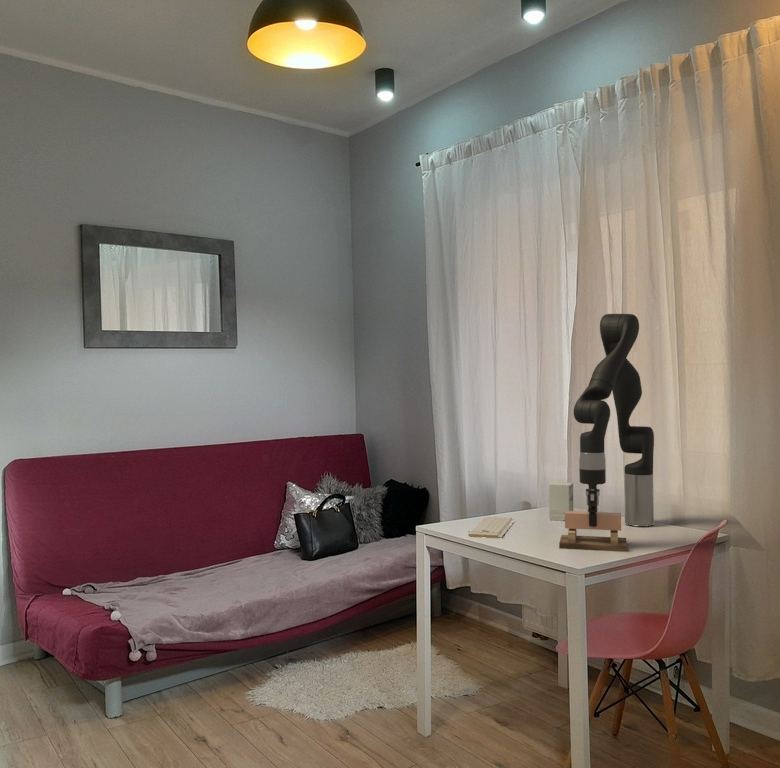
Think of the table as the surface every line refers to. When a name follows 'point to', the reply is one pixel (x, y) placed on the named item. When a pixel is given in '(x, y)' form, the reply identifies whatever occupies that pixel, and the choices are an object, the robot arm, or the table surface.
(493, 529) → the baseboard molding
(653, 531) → the table surface
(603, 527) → the clay bar
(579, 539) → the cleated wooden board
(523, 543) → the table surface
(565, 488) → the supplement box
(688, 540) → the table surface
